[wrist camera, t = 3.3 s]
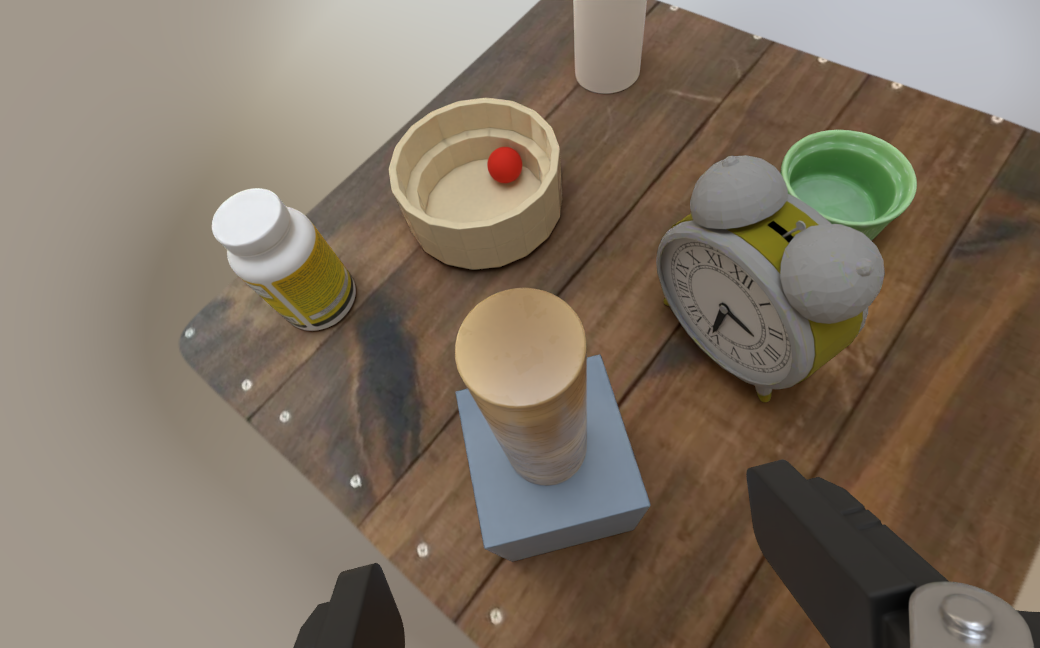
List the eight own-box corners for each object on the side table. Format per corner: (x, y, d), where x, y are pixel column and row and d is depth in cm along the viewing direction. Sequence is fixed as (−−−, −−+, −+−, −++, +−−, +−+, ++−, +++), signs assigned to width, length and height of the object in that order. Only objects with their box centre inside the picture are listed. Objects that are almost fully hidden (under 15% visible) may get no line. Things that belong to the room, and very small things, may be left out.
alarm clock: (642, 304, 41) (668, 163, 28) (709, 257, 42) (766, 100, 29) (758, 424, 36) (858, 323, 23) (831, 367, 37) (967, 238, 24)
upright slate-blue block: (511, 561, 34) (484, 549, 25) (486, 440, 37) (455, 391, 29) (634, 529, 34) (651, 505, 25) (597, 411, 38) (600, 353, 29)
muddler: (516, 495, 26) (467, 423, 15) (499, 416, 28) (444, 304, 17) (596, 474, 26) (603, 388, 15) (574, 397, 28) (566, 273, 17)
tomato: (494, 194, 47) (488, 169, 44) (487, 169, 48) (481, 144, 45) (527, 185, 47) (524, 160, 44) (519, 160, 48) (515, 135, 45)
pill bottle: (361, 264, 46) (299, 173, 36) (354, 329, 43) (285, 249, 33) (290, 271, 46) (210, 183, 36) (279, 336, 43) (189, 260, 33)
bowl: (423, 291, 44) (400, 248, 38) (402, 171, 50) (381, 120, 45) (580, 250, 44) (579, 202, 38) (540, 136, 50) (535, 81, 45)
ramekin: (860, 162, 45) (886, 120, 41) (907, 250, 40) (941, 213, 37) (750, 178, 45) (766, 139, 41) (785, 268, 41) (806, 233, 37)
